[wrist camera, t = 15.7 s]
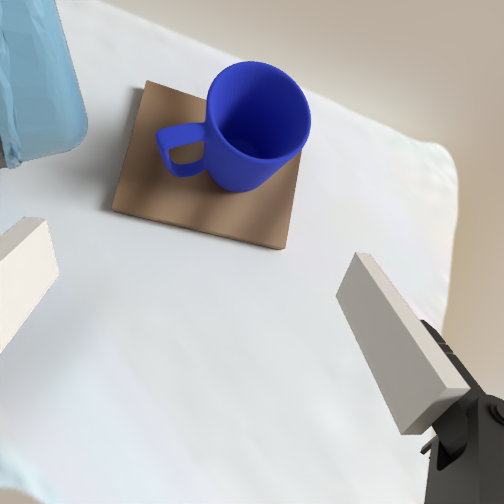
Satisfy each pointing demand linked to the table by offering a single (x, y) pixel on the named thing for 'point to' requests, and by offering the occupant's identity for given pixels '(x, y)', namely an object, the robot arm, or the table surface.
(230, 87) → the mug
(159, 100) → the walnut board
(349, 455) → the table surface
